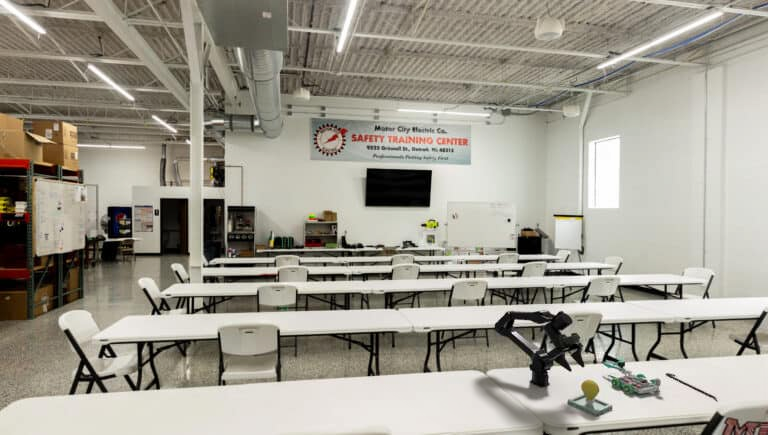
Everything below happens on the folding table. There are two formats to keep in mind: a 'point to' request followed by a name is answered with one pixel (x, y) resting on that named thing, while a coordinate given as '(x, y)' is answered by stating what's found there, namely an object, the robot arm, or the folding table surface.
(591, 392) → the light bulb
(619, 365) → the robot kit
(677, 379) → the crowbar
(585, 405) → the tray
